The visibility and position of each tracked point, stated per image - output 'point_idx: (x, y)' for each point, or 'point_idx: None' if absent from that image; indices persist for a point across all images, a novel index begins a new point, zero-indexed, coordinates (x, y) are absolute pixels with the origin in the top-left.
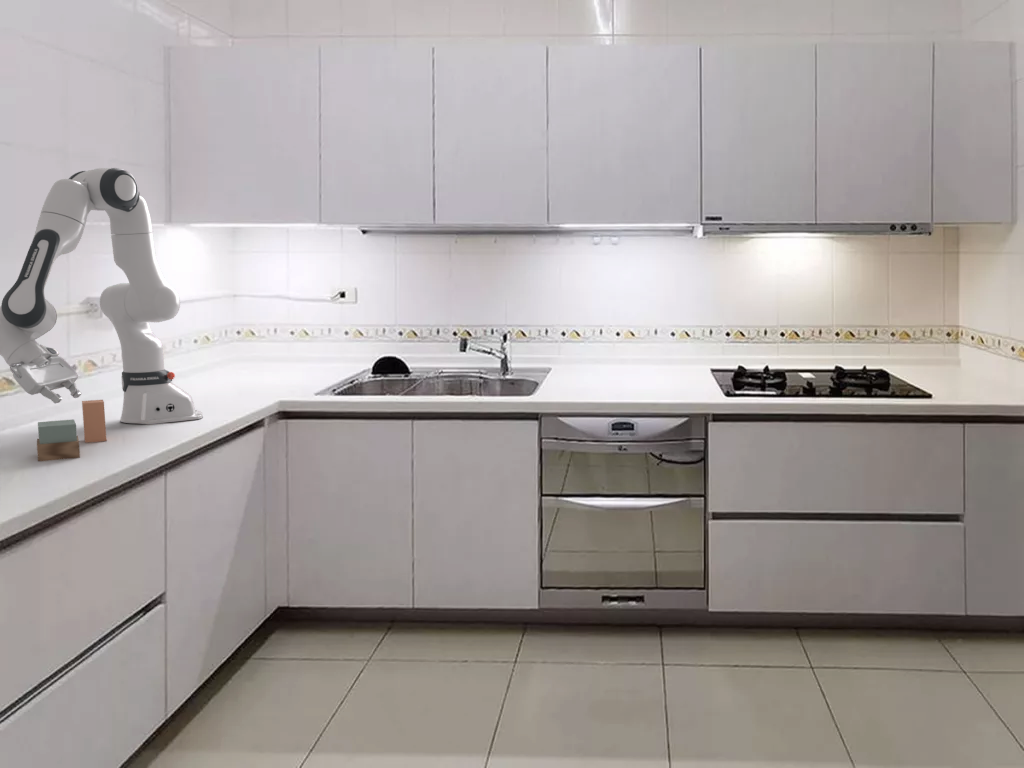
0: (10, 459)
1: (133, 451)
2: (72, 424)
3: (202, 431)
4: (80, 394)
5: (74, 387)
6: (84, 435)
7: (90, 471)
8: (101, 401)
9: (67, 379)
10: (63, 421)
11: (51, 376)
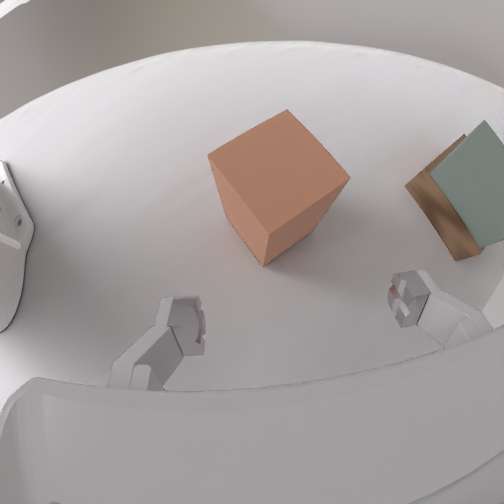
0: (494, 286)
1: (365, 81)
2: (489, 126)
3: (128, 69)
4: (174, 298)
5: (160, 344)
6: (285, 248)
7: (484, 101)
8: (271, 126)
9: (186, 391)
10: (482, 166)
11: (419, 418)
